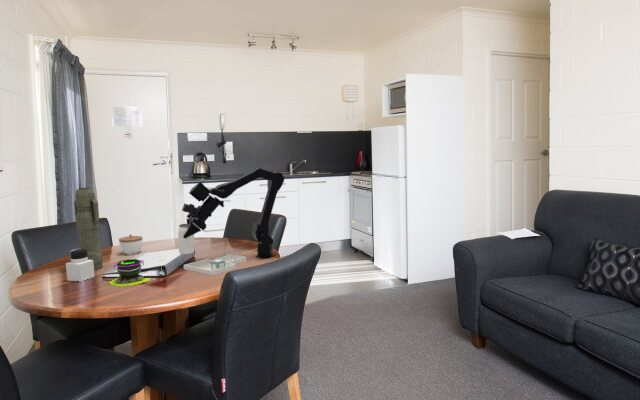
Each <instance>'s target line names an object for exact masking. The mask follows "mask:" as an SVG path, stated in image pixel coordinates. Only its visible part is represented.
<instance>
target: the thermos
mask: <svg viewBox="0 0 640 400" xmlns="http://www.w3.org/2000/svg"><path fill="white" fill-rule="evenodd" d="M74 195H75V197H74V198H75V200H74V202H73V204H74V205H73V206H74V214H75V215H74V216H75V225H76V230H77V233H78V241H79V242H78V243H79V244H78V245H79V249H86V250H87V255H88V259H87V260H93V264H94V271H97V269H98V270H101V269H102V267H104V266H103V251H102V250H101V243H100V241H101V240H100V232H99V231H100V230H99V229H100V217H99V215H100V213H99V202H98V200H97V199H96V193H95V191H94V189H93V188H91V187H79V188H78V189H76V191H75V194H74ZM100 268H101V269H100Z"/></svg>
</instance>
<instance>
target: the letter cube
mask: <svg viewBox="0 0 640 400" xmlns="http://www.w3.org/2000/svg"><path fill="white" fill-rule="evenodd" d="M222 267H225V260H220V259H218V260H214V261H211V270H215V269H219V268H222Z"/></svg>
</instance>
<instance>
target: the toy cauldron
mask: <svg viewBox="0 0 640 400" xmlns="http://www.w3.org/2000/svg"><path fill="white" fill-rule="evenodd" d="M122 256H123V255H122ZM122 256H120V258H121V257H122ZM124 256H125V257H126V256H131V255H130V254H129V255H126V254H124ZM144 265H145V260H143V259H138V258H137V259H136V258H133V257H131V258H130V259H129V258H128V259H126V258H124V259H120V261H117V262H115V263H113V264H112V266H113V268H114V270H116V271H117V274H118V276H117V278H118V279H116V278H114V279H115V280H113V279H111V280H112V281H111V280H110V281H109V283H110V284H111V286H113V285H115V286H114V287H128V286H127V285H129V286H135V284H136V285H140V284H143V282H144V283H146V282H148V281H150V280H151V277H150V278H145V279H144V277H143V276H142V275H140V274H141V270H142V267H143V266H144ZM149 279H150V280H149ZM110 284H109V285H110Z"/></svg>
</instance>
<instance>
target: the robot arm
mask: <svg viewBox="0 0 640 400" xmlns="http://www.w3.org/2000/svg"><path fill="white" fill-rule="evenodd" d="M259 178H261V179H263V180H267V192H266V195H265V199H264V202H263V205H262V209H261V212H260V216H259V219H258V221H257V222H253V224H252V228H251V234H252V237H253V238H254V239H255V240H256V242H257V248H256V249H257V254H256V255H255V258H261V259H269V258H271V257H275V256H276V254H275V253H273V243H274V238H272V237H271V236H270V235H269V232H270V231H269V230H270V225H269V223H270V220H271V215H272V212H273V208H274V205H275V201H276V198H277V194H278V192H279V191H280V189H282V186H283V185H284V182H285V176H284V174H283V173H282V172H277V171H273V172H272V171H269V170H266V169H263V168H262V167H257V168H255V169H253V170H251V171H249V172H247V173H245V174H243V175H241V176H239V177H238V178H236V179H234V180H231V181H227V182H224V183H221V184H218V185H216V186H215V187H214V188H208V187H206V186H205V184H203V182H201V181H199V182H197V183H196V184H195V185H194V186H193V187H191V189H190V191H189V192H188V194H189V195H190V196H192V197H193V198H194V199H196V201H198V202H203V203H202V204H201V205H198V206H197V207H196V206H195V205H194V204H192V203H189V204H188V203H183V206H182V209H181V211H182V212H183V213H187V215H186V218H185V219H186V224H190V226H189V228H188V230H187V231H186V233H185V234H184V236H183V238H187V237H189V236H191V235H193V234H194V235H195V234H197V233H199V232H202V231H205V230H206V229H207V224H206V221H207V220H208V219H209V217H212V214H213V213H214V211H216V209H217V208H218V207H219V206H220V207H221V208H224V207H225V204H224V202H225V201H224V200H223V199H227V198H229V197H230V196H231V195H232V194H234V193H235V192H236V191H237V190H238V189H240V188H242V187H244V186H245V185H247V184H250V183H251V182H254V181H255V180H258V179H259ZM213 196H214V197H213ZM220 199H222V200H220Z"/></svg>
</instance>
